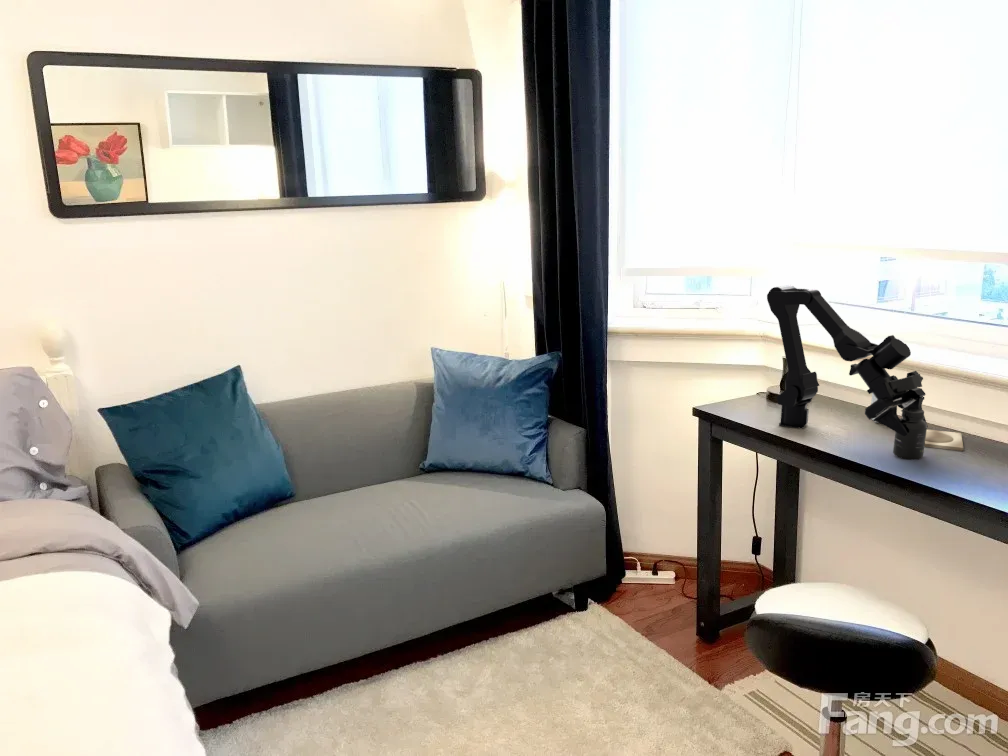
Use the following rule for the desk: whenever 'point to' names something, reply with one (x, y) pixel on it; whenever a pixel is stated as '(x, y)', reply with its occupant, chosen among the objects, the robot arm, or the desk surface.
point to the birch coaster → (944, 440)
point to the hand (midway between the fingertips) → (916, 431)
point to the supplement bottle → (911, 435)
